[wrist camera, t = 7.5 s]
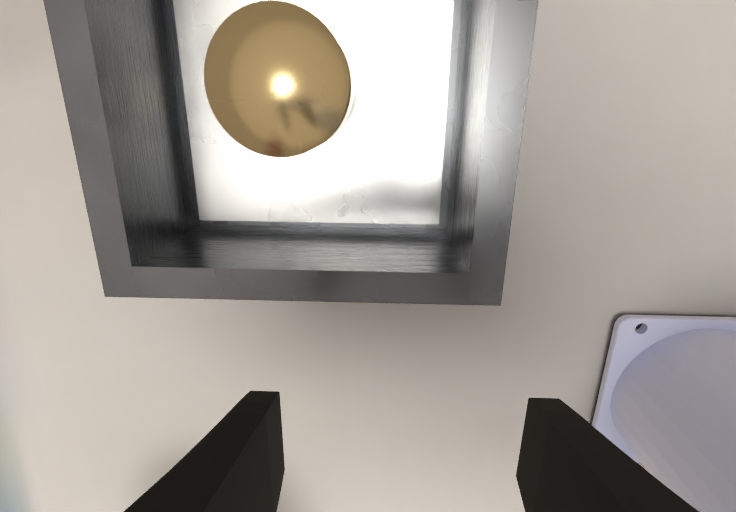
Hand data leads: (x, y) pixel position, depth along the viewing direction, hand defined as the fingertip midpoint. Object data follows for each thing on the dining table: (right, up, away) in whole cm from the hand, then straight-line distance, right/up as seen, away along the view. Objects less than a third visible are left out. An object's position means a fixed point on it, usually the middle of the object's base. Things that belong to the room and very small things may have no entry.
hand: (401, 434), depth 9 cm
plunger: (-2, +10, +6) cm, 12 cm away
